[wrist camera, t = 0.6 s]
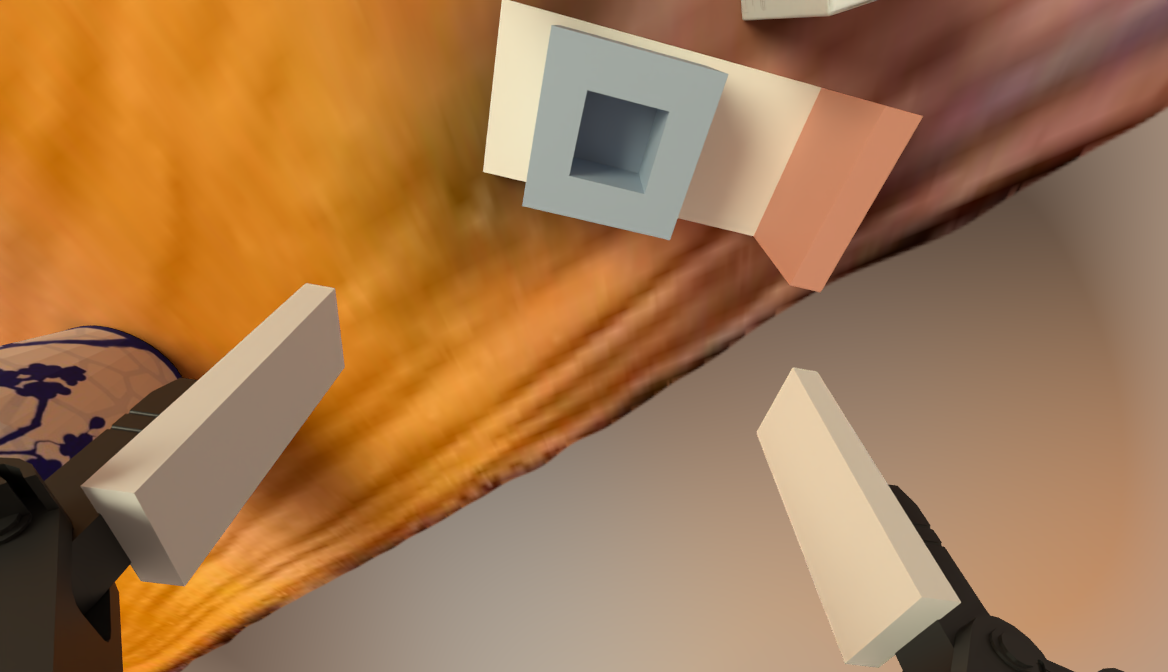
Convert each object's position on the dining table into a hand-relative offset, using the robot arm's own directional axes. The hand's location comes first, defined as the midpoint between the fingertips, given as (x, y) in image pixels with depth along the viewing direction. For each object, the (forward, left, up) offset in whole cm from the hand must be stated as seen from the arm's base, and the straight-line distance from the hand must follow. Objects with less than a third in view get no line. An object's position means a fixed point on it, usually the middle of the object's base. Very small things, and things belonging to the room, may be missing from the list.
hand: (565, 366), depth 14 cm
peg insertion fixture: (-3, +4, -23) cm, 24 cm away
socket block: (-3, +1, -22) cm, 22 cm away
